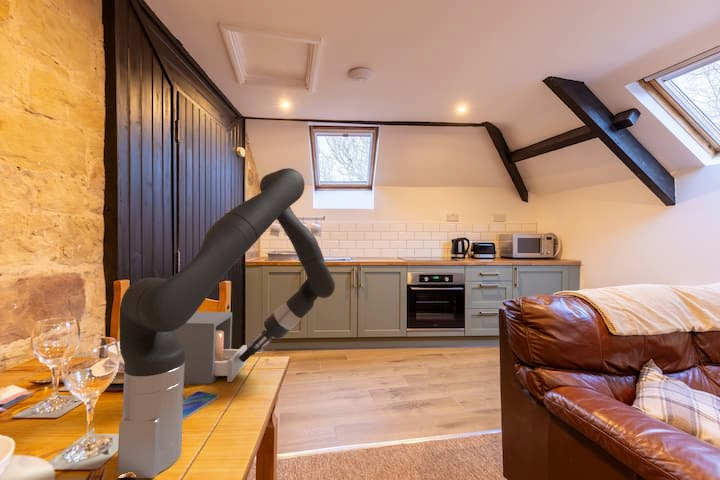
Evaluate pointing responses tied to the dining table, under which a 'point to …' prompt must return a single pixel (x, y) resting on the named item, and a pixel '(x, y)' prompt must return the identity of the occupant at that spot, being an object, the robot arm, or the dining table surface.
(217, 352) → the tan rounded cylinder
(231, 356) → the drawer
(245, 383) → the dining table surface
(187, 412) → the smartphone
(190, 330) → the cabinet
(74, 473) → the dining table surface
